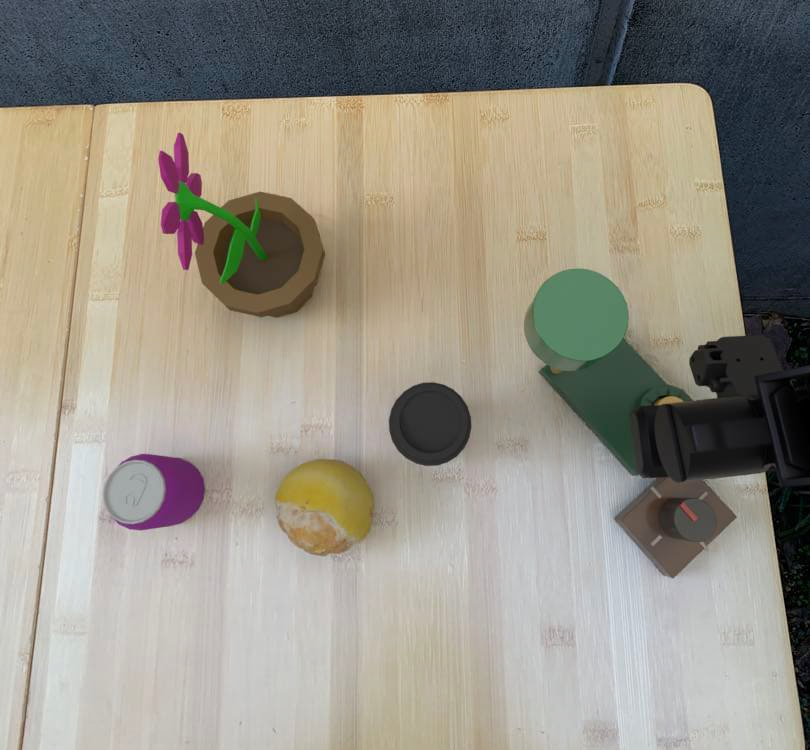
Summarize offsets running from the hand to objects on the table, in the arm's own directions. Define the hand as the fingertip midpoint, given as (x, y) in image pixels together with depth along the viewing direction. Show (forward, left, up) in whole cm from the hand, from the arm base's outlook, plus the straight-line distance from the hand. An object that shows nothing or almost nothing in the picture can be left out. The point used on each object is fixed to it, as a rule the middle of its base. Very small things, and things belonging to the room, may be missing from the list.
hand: (703, 443), depth 68 cm
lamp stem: (+15, +3, -12) cm, 20 cm away
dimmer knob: (-6, +5, -9) cm, 12 cm away
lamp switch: (+3, -2, -9) cm, 10 cm away
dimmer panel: (-6, +5, -12) cm, 14 cm away
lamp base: (+8, -1, -12) cm, 15 cm away
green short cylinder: (+17, +5, +9) cm, 20 cm away
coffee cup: (+19, +20, -13) cm, 30 cm away
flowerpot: (+46, +21, -13) cm, 52 cm away
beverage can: (+33, +47, -13) cm, 58 cm away
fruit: (+20, +33, -13) cm, 41 cm away
